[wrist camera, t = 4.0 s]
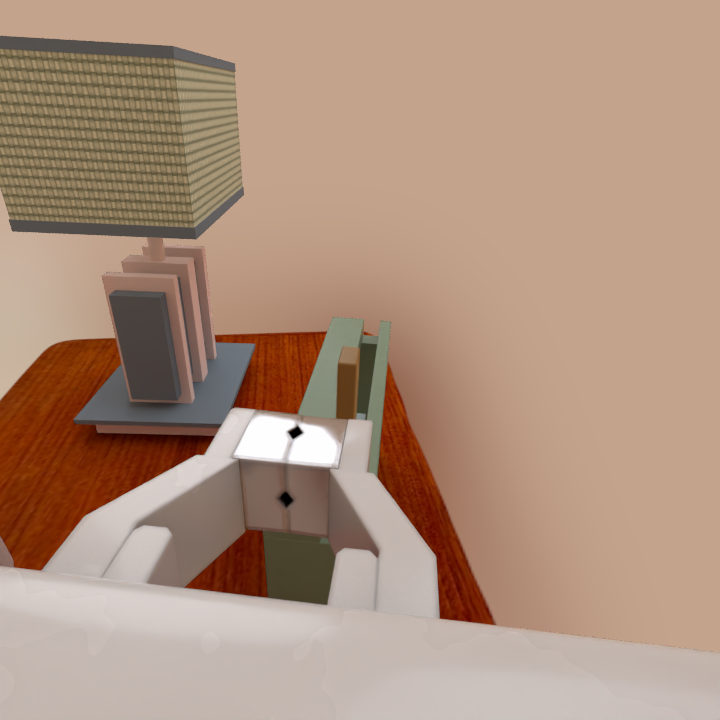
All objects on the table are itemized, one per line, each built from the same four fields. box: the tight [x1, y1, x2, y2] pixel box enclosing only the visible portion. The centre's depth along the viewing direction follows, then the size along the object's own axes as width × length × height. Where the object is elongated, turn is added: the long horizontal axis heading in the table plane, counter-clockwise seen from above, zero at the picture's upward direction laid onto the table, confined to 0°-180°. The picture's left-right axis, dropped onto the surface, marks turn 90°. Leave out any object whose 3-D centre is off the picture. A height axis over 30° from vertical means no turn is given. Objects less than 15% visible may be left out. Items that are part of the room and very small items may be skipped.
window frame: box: [263, 317, 391, 605], centre depth 34 cm, size 5×22×14 cm, turn 175°
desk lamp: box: [0, 36, 255, 436], centre depth 45 cm, size 18×14×33 cm
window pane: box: [336, 346, 366, 420], centre depth 28 cm, size 1×9×19 cm, turn 175°
